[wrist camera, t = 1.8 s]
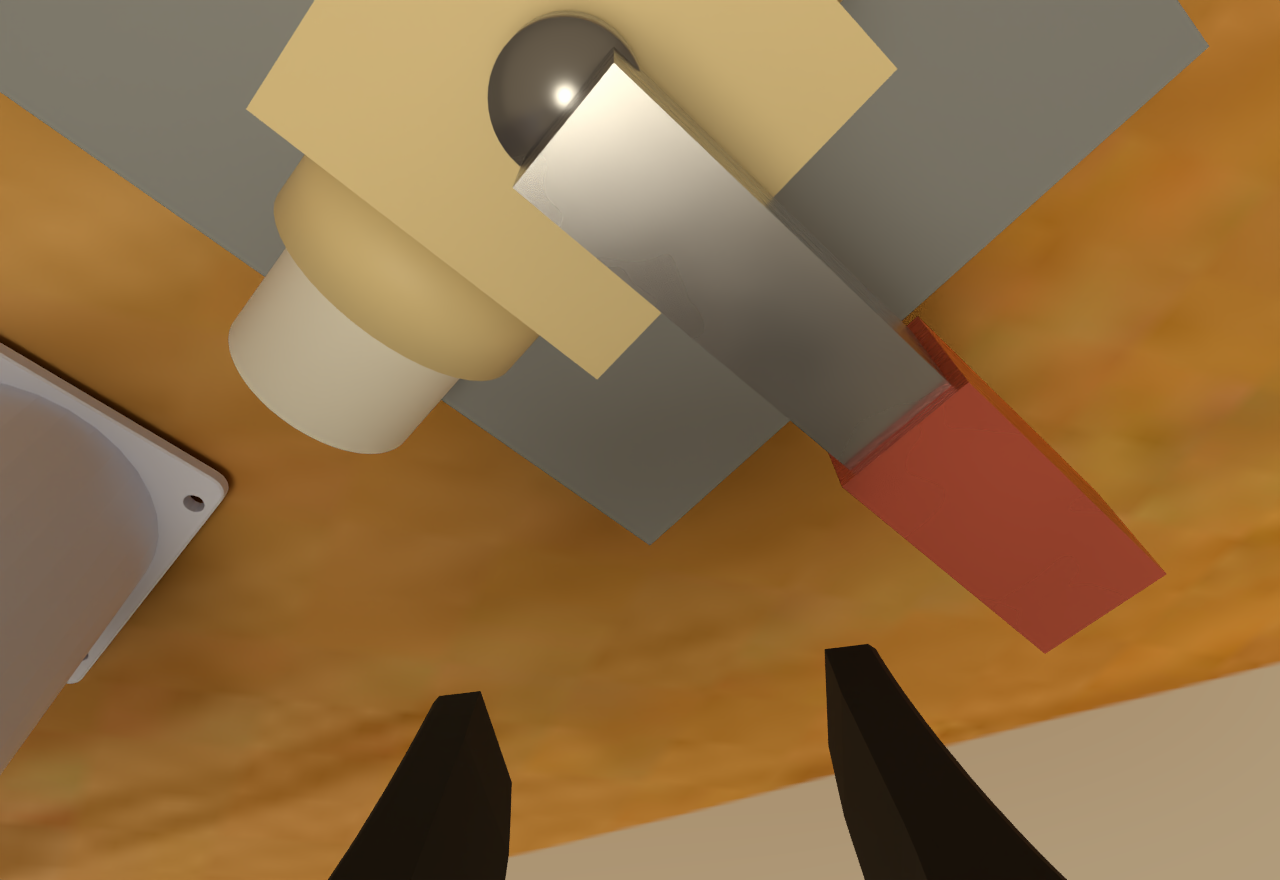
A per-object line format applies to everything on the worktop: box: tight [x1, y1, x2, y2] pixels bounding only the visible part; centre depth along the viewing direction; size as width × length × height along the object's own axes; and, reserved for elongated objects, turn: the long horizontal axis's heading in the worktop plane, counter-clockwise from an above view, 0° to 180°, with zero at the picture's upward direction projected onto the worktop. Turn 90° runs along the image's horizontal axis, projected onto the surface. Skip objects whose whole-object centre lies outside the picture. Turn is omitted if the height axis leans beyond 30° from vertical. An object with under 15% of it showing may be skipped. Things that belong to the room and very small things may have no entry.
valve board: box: [0, 0, 1209, 545], centre depth 14 cm, size 16×18×6 cm
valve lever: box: [488, 11, 1166, 653], centre depth 12 cm, size 12×2×2 cm, turn 48°
